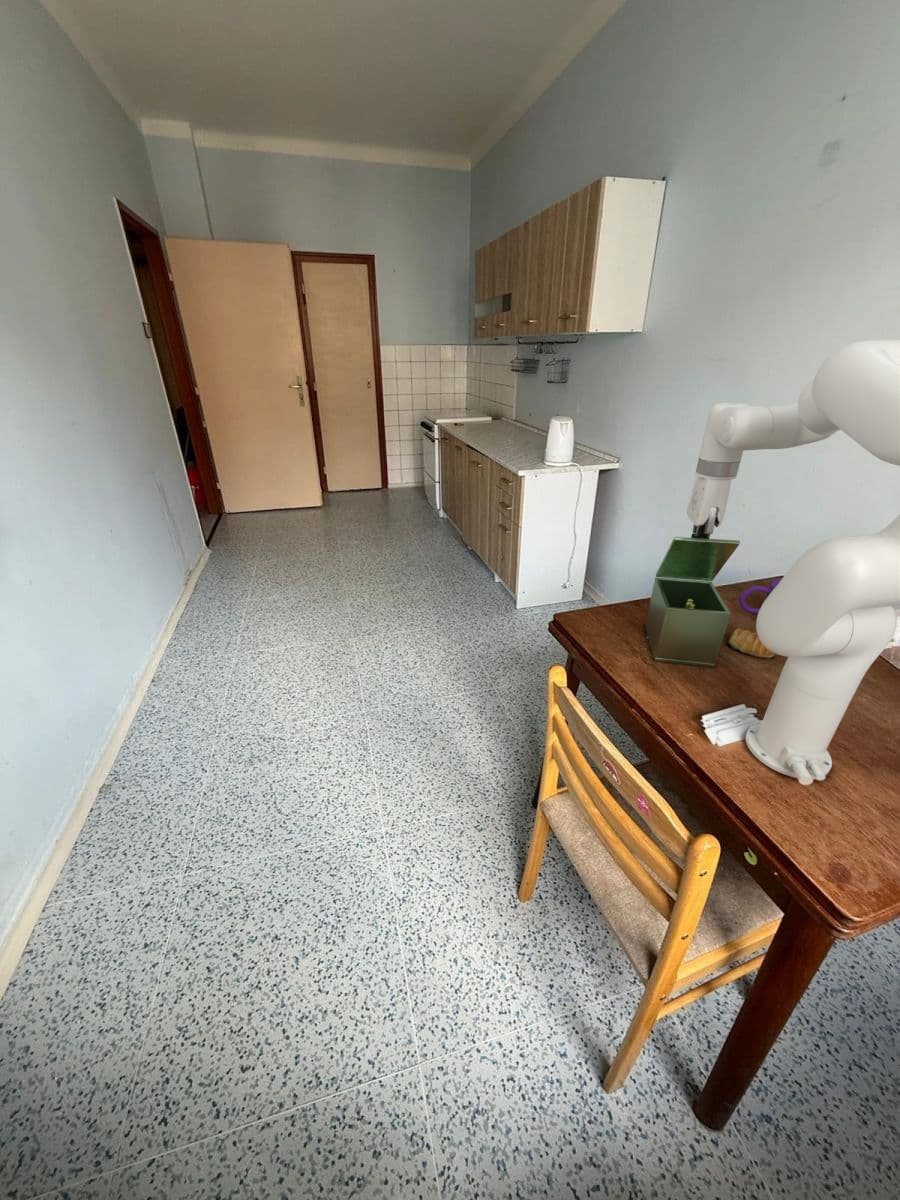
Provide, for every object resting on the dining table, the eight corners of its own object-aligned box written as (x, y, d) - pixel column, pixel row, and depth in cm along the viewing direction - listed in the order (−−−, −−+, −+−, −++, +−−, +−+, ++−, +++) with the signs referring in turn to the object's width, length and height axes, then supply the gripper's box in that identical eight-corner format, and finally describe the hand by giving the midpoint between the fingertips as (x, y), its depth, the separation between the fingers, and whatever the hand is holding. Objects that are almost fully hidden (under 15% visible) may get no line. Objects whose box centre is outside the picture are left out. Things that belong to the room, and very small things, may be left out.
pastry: (777, 651, 110) (783, 637, 108) (769, 663, 106) (774, 649, 104) (734, 636, 116) (738, 623, 114) (724, 647, 112) (728, 634, 110)
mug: (804, 614, 124) (817, 580, 120) (818, 636, 115) (833, 600, 110) (730, 605, 129) (740, 572, 125) (737, 625, 120) (748, 590, 115)
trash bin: (714, 667, 105) (730, 613, 98) (654, 660, 107) (666, 608, 101) (698, 630, 118) (711, 581, 112) (645, 625, 121) (655, 577, 114)
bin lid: (740, 543, 97) (739, 540, 97) (674, 539, 99) (674, 536, 100) (712, 581, 111) (711, 578, 112) (655, 577, 114) (655, 574, 114)
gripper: (689, 460, 103) (672, 539, 112) (706, 476, 90) (685, 564, 99) (726, 461, 101) (706, 541, 110) (749, 477, 89) (724, 566, 97)
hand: (696, 551), depth 104 cm, fingers closed
